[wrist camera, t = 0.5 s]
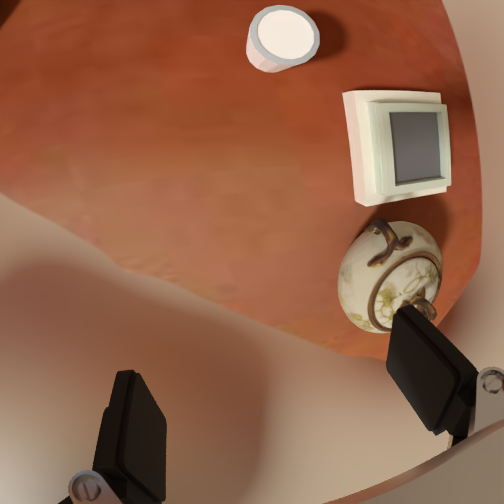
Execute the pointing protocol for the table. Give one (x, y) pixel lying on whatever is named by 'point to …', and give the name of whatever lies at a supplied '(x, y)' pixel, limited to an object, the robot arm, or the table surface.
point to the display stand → (397, 144)
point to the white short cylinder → (281, 38)
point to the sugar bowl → (389, 274)
